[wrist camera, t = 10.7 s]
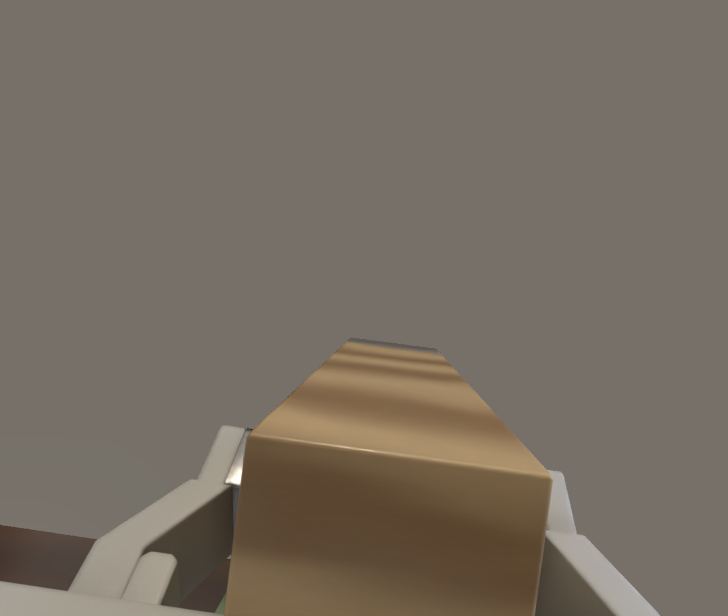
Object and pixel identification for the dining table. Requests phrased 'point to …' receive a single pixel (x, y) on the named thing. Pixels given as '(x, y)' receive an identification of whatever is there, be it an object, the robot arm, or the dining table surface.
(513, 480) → the light wood square bar
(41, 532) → the dark brown wooden frame
